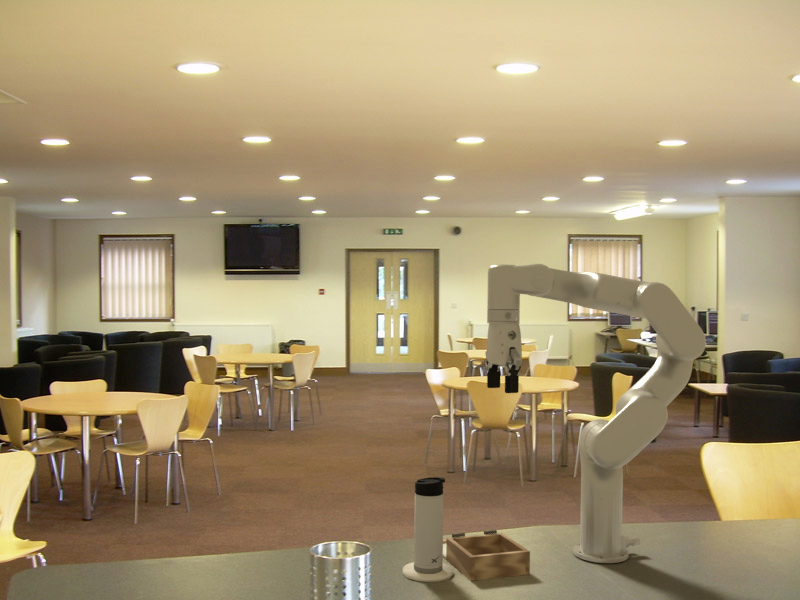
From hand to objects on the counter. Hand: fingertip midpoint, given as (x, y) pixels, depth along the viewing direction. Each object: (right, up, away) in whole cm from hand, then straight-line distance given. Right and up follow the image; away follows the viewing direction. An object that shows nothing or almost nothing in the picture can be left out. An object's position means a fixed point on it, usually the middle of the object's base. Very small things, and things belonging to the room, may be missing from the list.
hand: (502, 390), depth 193 cm
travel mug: (-18, -38, -14) cm, 44 cm away
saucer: (-18, -38, -14) cm, 44 cm away
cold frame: (-6, -38, -4) cm, 39 cm away
